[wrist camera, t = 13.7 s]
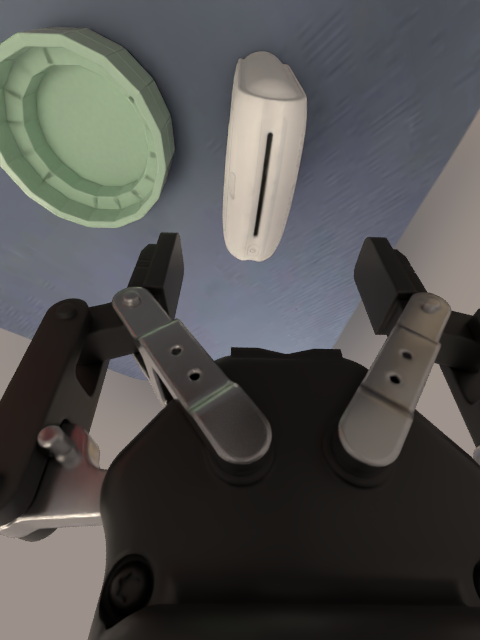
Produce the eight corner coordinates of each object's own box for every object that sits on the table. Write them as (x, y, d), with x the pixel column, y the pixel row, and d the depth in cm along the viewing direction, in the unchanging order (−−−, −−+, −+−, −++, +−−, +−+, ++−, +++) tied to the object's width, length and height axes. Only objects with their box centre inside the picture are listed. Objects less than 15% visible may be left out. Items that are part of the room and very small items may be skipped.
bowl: (-20, 23, 21) (-71, 30, 17) (162, 29, 21) (146, 36, 18) (55, 199, 30) (30, 226, 26) (182, 202, 30) (175, 229, 26)
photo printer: (270, 195, 29) (281, 278, 21) (224, 191, 29) (218, 273, 21) (294, 54, 22) (328, 93, 13) (234, 46, 22) (229, 81, 13)
